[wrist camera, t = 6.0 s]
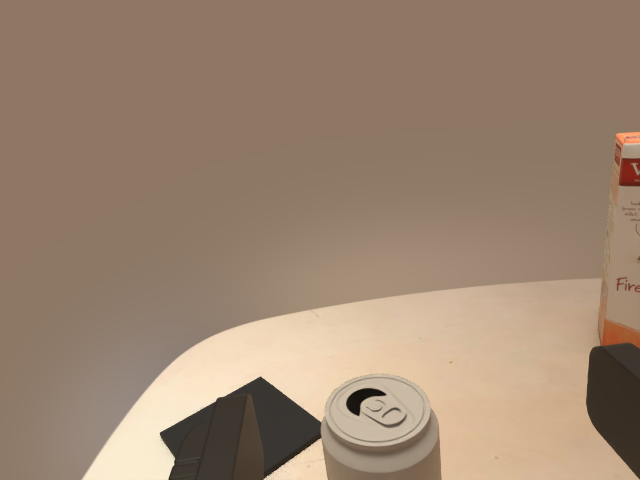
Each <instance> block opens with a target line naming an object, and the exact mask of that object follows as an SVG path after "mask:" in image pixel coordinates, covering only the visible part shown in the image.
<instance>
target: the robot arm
mask: <svg viewBox="0 0 640 480" xmlns="http://www.w3.org/2000/svg"><path fill="white" fill-rule="evenodd" d="M586 405H587V411H588V414H589V417H590V419H591V422H592V423H593V425H594V427H595V428H596V430H597V431H598V432H599V433H600V434H601V436H602V437H603V438H604V439H605V440H606V441H607V443H608V444H609V445H610V446H611V447H612V448H613V449H614V451H615V452H616V453H617V454H618V455H619V456H620V457H621V459H622V460H623V461H624V462H625V463H626V464H627V465H628V467H629V468H630V469H631V470H632V471H633V472H634V473H635V475H636V476H637V477H638V478H639V479H640V349H639V348H638V347H637V346H635V345H634V344H632V343H628V342H627V343H620V344H612V345H605V346H598V347H594V348H593V349H592V350H591V352H590V356H589V369H588V383H587V398H586ZM174 463H175V464H174V466H173V467H172V470H171V473H170V476H169V480H263V479H264V456H263V447H262V442H261V437H260V433H259V428H258V424H257V419H256V414H255V410H254V405H253V401H252V397H251V395H250V394H241V395H234V396H227V397H219V398H217V400H216V403H215V407H214V410H213V414H212V418H211V421H210V422H206V423H198V424H195V426H194V427H193V428H192V429H191V430H190V432H189V433H188V434H187V435H186V437H185V438H184V439H183V440H182V442H181V444H180V447H179V450H178V453H177V456H176V459H175V461H174Z"/></svg>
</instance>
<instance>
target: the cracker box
mask: <svg viewBox="0 0 640 480" xmlns="http://www.w3.org/2000/svg"><path fill="white" fill-rule="evenodd" d="M598 328H599V334H600V341H601V346H605V345H612V344H620V343H627V342H628V343H632V344H634V345H635V346H637V347H638V348H639V349H640V132H632V133H618V134H616V136H615V149H614V161H613V172H612V181H611V192H610V202H609V212H608V224H607V233H606V244H605V254H604V266H603V277H602V286H601V297H600V308H599V319H598Z"/></svg>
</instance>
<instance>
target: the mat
mask: <svg viewBox="0 0 640 480" xmlns="http://www.w3.org/2000/svg"><path fill="white" fill-rule="evenodd" d="M241 394H250V395H251V397H252V401H253V405H254V410H255V414H256V419H257V424H258V428H259V433H260V437H261V442H262V447H263V456H264V477H266V476H267V475H268V474H270V473H271V472H273V471H274V470H275V469H277V468H278V467H280V466H281V465H282V464H284V463H285V462H287V461H288V460H289V459H291V458H292V457H294V456H295V455H296V454H298V453H299V452H301V451H302V450H303V449H305V448H306V447H308V446H309V445H310V444H312V443H313V442H315V441H316V440H317V439H319V438H320V437H321V424H322V423H321V422H320V421H318V420H317V419H316V418H315V417H313V416H312V415H311V414H309V413H308V412H307V411H305V410H304V409H303V408H301V407H300V406H299V405H297V404H296V403H295V402H294V401H292V400H291V399H290V398H288V397H287V396H286V395H284V394H283V393H282V392H280V391H279V390H278V389H276V388H275V387H274V386H272V385H271V384H270V383H269V382H267V381H266V380H265V379H263V378H262V377H259V378H257V379H255V380H253V381H252V382H250V383H248V384H246V385H244V386H243V387H241V388H239V389H237V390H236V391H234V392H232V393H230V394H228V395H227V396H234V395H241ZM227 396H225V397H227ZM215 403H216V402H214V403H212V404H211V405H209V406H207V407H205V408H203V409H202V410H200V411H198V412H196V413H194V414H193V415H191V416H189V417H187V418H185V419H184V420H182V421H180V422H178V423H177V424H175V425H173V426H171V427H169V428H168V429H166V430H164V431H162V432H160V436H161V438H162V439H163V441H164V442H165V443H166V445H167V446H168V448H169V449H170V450H171V452H172V453H173V455H174V456H175V457H176V456H177V453H178V450H179V447H180V444H181V442H182V440H183V439H184V438H185V437H186V435H187V434H188V433H189V432H190V430H191V429H192V428H193V427H194V426H195V424H198V423H206V422H210V421H211V418H212V414H213V410H214V407H215Z"/></svg>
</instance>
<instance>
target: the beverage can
mask: <svg viewBox="0 0 640 480" xmlns="http://www.w3.org/2000/svg"><path fill="white" fill-rule="evenodd" d="M321 438H322V445H323V451H324V457H325V464H326V470H327V477H328V480H441V461H440V440H439V425H438V420H437V418H436V415H435V413H434V412H433V410H432V409H431V407H430V402H429V399H428V397H427V395H426V394H425V392H424V391H423V390H422V389H421V388H420V387H419V386H417V385H416V384H414V383H413V382H411V381H409V380H407V379H405V378H402V377H398V376H394V375H388V374H370V375H365V376H360V377H356V378H354V379H351V380H349V381H347V382H345V383H343V384H342V385H340V386H339V387H338V388H336V389H335V390H334V391H333V392H332V393H331V395H330V396H329V398H328V400H327V402H326V405H325V416H324V418H323V421H322V424H321Z"/></svg>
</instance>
